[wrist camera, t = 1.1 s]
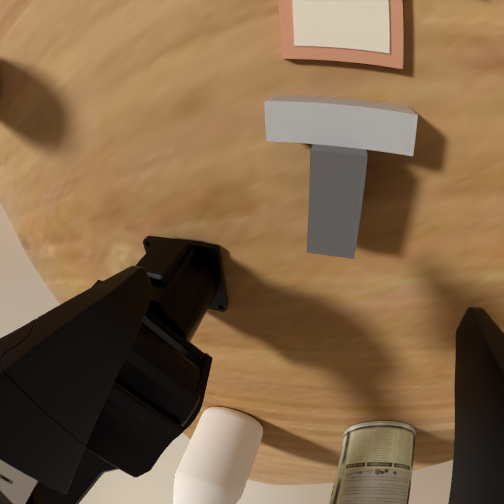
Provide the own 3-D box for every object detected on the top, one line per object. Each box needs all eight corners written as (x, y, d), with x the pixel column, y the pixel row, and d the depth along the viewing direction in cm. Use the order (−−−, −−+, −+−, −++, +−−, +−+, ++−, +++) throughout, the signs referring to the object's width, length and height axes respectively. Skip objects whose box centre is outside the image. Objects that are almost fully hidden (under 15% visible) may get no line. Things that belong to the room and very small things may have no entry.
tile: (399, 68, 12) (403, 69, 11) (285, 58, 14) (280, 58, 13) (396, -32, 9) (399, -39, 8) (280, -38, 10) (275, -45, 9)
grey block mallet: (390, 228, 17) (395, 264, 15) (279, 215, 19) (264, 246, 17) (408, 106, 13) (422, 119, 10) (276, 94, 15) (258, 104, 12)
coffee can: (424, 438, 32) (413, 528, 22) (361, 448, 38) (344, 530, 28) (403, 413, 29) (389, 525, 19) (330, 426, 35) (306, 523, 24)
